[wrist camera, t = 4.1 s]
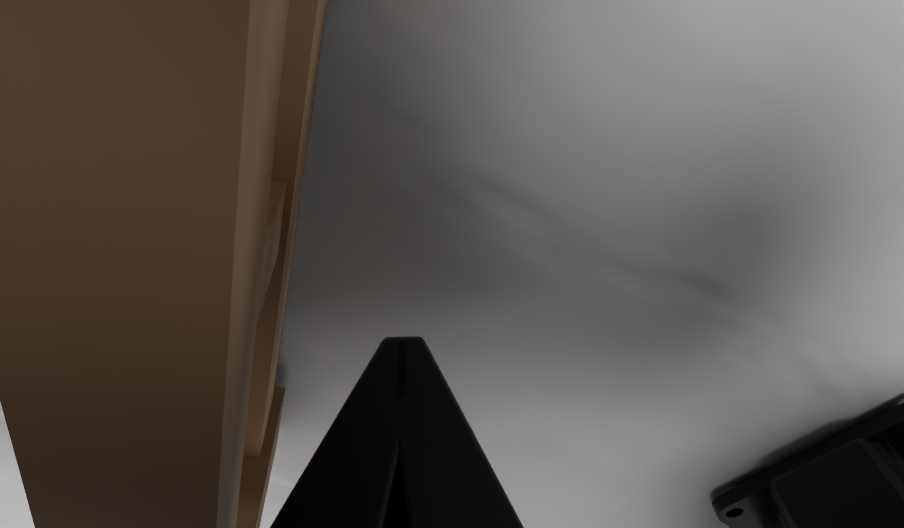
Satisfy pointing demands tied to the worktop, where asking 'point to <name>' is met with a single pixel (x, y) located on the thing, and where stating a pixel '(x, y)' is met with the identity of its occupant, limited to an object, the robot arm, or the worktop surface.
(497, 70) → the worktop surface
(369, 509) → the robot arm
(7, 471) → the worktop surface
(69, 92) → the gate
